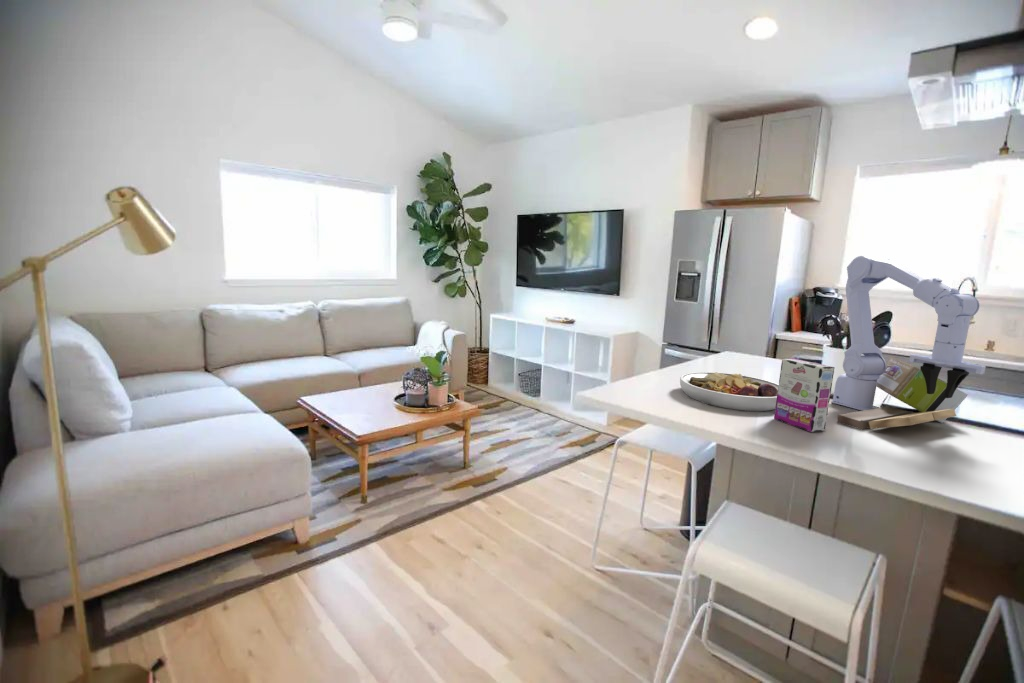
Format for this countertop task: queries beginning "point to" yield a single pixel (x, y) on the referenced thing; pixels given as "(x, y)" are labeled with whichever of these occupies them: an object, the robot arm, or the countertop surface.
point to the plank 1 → (901, 421)
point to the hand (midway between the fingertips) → (939, 395)
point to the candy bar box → (804, 394)
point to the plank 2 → (938, 414)
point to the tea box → (916, 388)
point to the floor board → (869, 416)
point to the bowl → (730, 390)
